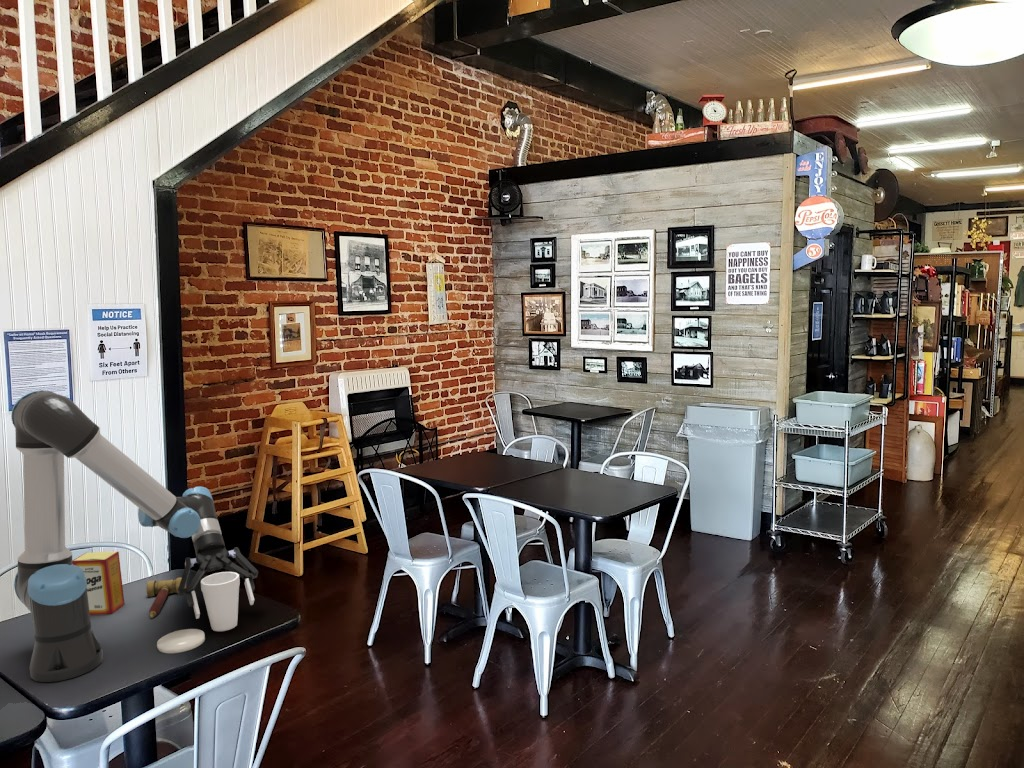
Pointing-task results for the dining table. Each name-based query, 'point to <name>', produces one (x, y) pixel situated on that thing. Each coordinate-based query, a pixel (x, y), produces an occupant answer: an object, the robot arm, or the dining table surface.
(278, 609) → the dining table surface
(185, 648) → the plate
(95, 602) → the baking soda box
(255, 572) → the robot arm
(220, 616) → the foam cup
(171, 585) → the gavel
